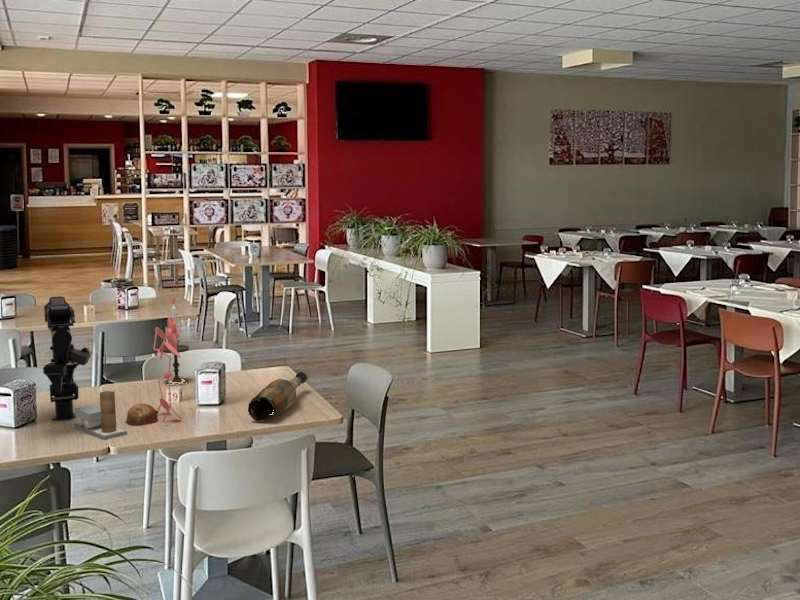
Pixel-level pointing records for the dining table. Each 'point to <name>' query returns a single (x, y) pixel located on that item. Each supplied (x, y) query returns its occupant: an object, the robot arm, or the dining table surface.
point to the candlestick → (179, 349)
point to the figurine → (172, 337)
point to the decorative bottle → (275, 398)
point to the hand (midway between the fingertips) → (64, 389)
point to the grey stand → (93, 422)
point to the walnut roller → (108, 411)
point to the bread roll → (141, 414)
